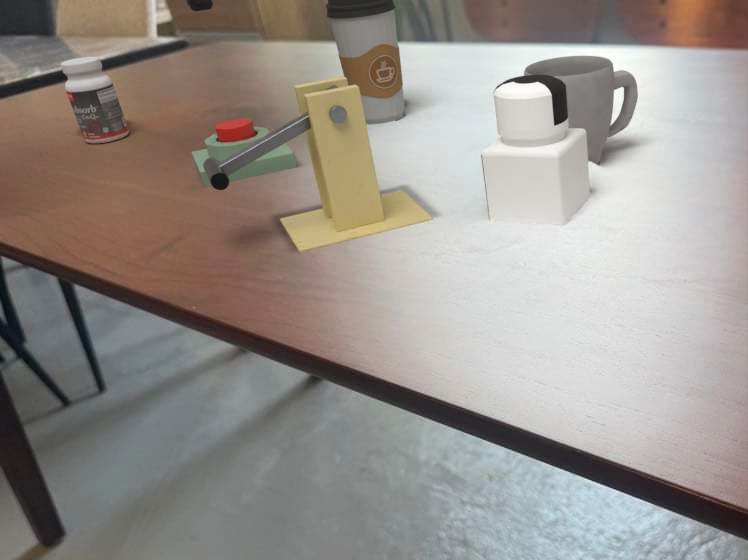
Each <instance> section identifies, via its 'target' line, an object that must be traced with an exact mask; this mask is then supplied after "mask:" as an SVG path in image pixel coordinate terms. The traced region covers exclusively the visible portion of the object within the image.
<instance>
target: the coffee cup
mask: <svg viewBox="0 0 748 560" xmlns="http://www.w3.org/2000/svg"><path fill="white" fill-rule="evenodd" d="M325 8H326V17H327V18H328V19H329V22H330V26H331V30H332V33H333V37H334V41H335V45H336V49H337V52H338V59H339V63H340V66H341V69H342V74H343V76H344V77H346V78H347V82H348V86H350V85H357V86H358V87H359V90H360V95H361V101H362V106H363V111H364V116H365V121H366V125H379V124H385V123H390V122H394V121H398V120H400V119H402V118H403V117H404V112H405V110H406V108H405V107H406V106H405V99H404V97H405V96H404V90H403V89H404V88H403V85H404V83H403V81H404V80H403V73H402V62H401V54H400V47H399V42H398V33H397V23H396V15H395V9H396V5H395V3H394V0H327V4H325Z"/></svg>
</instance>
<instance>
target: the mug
mask: <svg viewBox="0 0 748 560" xmlns="http://www.w3.org/2000/svg"><path fill="white" fill-rule="evenodd" d="M614 70H615V69H614V64H613V61H611V60H610V58H608V57H604V56H598V55H597V56H596V55H569V56H559V57H552V58H547V59H542V60H539V61H536V62H533V63H531V64H529V65H528V66H526V67H525V68H524V71H523V76H526V75H549V76H553V77H555V78H558V79H560V80H562V81H563V82H564V84H565V85H566V94H567V108H568V123H569V127H568V128H582V129H585V130H586V135H587V152H588V162H591V163H592V164H594V165H597V164H598V163H599V162H601V159H602V154H603V151H604V148H605V145H606V143H607V140H608V139H609V138H611V137H613V136H615V135H617V134H618V133H620V132H622V131H623V130H625V129H626V128H627V127H628V126H629V124H630V123H631V121H632V119H633V117H634V113H635V110H636V106H637V103H638V98H639V97H638V96H639V94H638V84H637V80H636V78H635V76H634V74H632V73H630V72H629V71H627V70H623V69H619V70H615V71H614ZM621 88H623V100H622V105H621V108H620V111H619V114H618V116H617V117H616V119H615V120H614V121H613V122H612V119H613V111H614V101H615V100H614V99H615V91H616V90H618V89H621ZM599 164H600V163H599ZM599 164H598V165H599Z"/></svg>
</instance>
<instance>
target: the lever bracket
mask: <svg viewBox="0 0 748 560" xmlns="http://www.w3.org/2000/svg"><path fill="white" fill-rule="evenodd" d="M333 85H336V86H337V87H338V88H335V89H329V90H326V89H328V88H329V87H331V86H333ZM293 89H294V92H295V97H296V101H297V105H298V109H299V113H300V116H302V115H303V114H305V113H307V112H308V116H309V120H310V124H311V128H310V129H309V130H307V131H305V132H304V134H305V138H306V143H307V147H308V151H309V156H310V160H311V165H312V168H313V172H314V177H315V181H316V185H317V190H318V194H319V198H320V202H321V206H322V208H319V209H315V210H311V211H306V212H303V213H302V212H301V213H297V214H293V215H290V216H285V217H281V218H279V222H280V223H281V225H282V226H283V228H284V230H285V231H286V233H287V234H288V236H289V238H290V239H291V241H292V243H293V244H294V246H295V247H296V249H297V251H298V252H299V253H300V254H301V253H304V252H308V251H309V252H310V251H313V250H317V249H320V248H325V247H328V246H329V247H330V246H333V245H336V244H341V243H344V242H345V243H346V242H350V241H353V240H358V239H361V238H364V237H365V238H366V237H369V236H373V235H377V234H381V233H386V232H390V231H393V230H397V229H401V228H405V227H409V226H414V225H417V224H422V223H425V222H429V221H433V217H432V216H431V215H430V214H429V213H428V212H427V211H426V210H424V208H422V207H421V205H419V204H418V202H416V201H415V200H414V199H413V198H411V196H409V194H408V193H406V192H405V191H404V189H402V190H396V191H392V192H388V193H387V192H386V193H383V194H381V193H380V192H381V191H380V188H379V182H378V177H377V173H376V167H375V163H374V157H373V151H372V146H371V140H370V136H369V131H368V125H367V124H366V121H365V116H364V111H363V106H362V101H361V95H360V90H359V87H358V86H357V85H350V86H348V82H347V78H346V77H344V75H343V76H337V77H332V78H327V79H322V80H315V81H311V82H306V83H301V84H294V85H293Z"/></svg>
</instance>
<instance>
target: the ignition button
mask: <svg viewBox="0 0 748 560" xmlns="http://www.w3.org/2000/svg"><path fill="white" fill-rule="evenodd" d="M254 127H255V125H254V123H253V120H252V119H251V118H244V117H243V118H234V119H227V120H224V121H221V122H219V123H217V124H216V125H215V126H214V129H215V134H217V136H218V140H219V142H223V143H226V142H236V141H241V140H246V139H249V138H252V137H254V136H256V133H255V130H254Z"/></svg>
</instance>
